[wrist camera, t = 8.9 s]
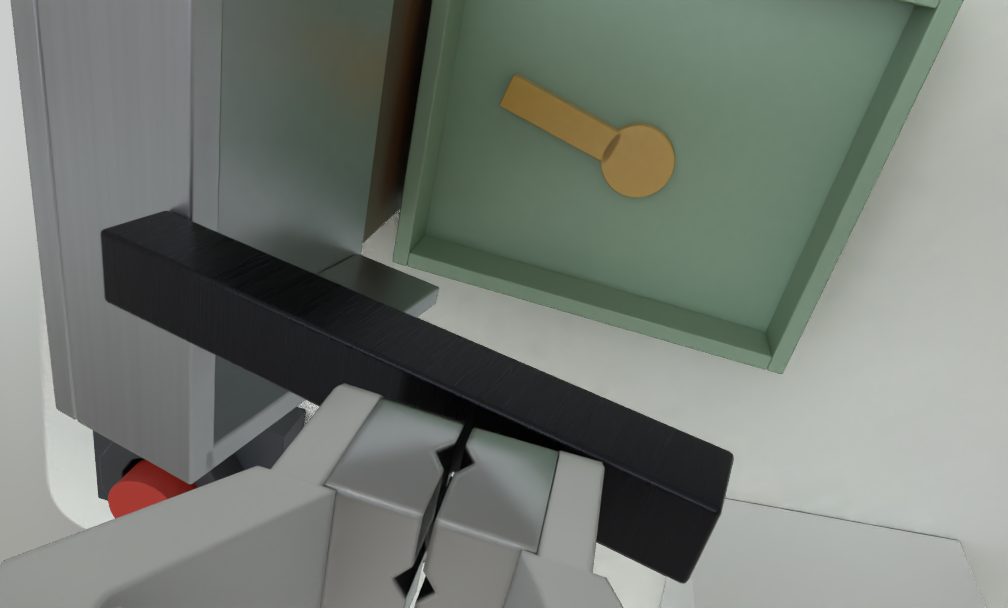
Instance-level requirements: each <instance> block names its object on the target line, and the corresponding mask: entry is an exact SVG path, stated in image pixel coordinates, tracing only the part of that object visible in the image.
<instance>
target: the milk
mask: <svg viewBox="0 0 1008 608" xmlns="http://www.w3.org/2000/svg"><path fill="white" fill-rule="evenodd" d="M660 608H987V607H986V604H985V602H984V599H983V597H982V595H981V592H980V590H979V588H978V585H977V583H976V580H975V578H974V576H973V573H972V571H971V568H970V566H969V564H968V561H967V559H966V557H965V554H964V552H963V549H962V547H961V545H960V542H959V541H956V540H951V539H945V538H940V537H934V536H929V535H923V534H917V533H912V532H906V531H901V530H895V529H890V528H884V527H879V526H873V525H868V524H862V523H857V522H851V521H846V520H840V519H835V518H829V517H824V516H818V515H812V514H807V513H801V512H796V511H790V510H785V509H779V508H774V507H768V506H763V505H757V504H752V503H746V502H741V501H735V500H730V499H725V500H724V504H723V509H722V513H721V515H720V518H719V520H718V522H717V524H716V526H715V528H714V530H713V532H712V534H711V536H710V538H709V540H708V542H707V544H706V546H705V548H704V550H703V552H702V554H701V556H700V558H699V560H698V562H697V564H696V566H695V568H694V570H693V572H692V574H691V577H690V579H689V580H688V581H687V582H686V583H685V584H682V583H679V582H677V581H675V580H673V579H671V578H669V577H667V578H666V583H665V587H664V592H663V596H662V600H661V605H660Z"/></svg>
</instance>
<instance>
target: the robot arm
mask: <svg viewBox="0 0 1008 608" xmlns="http://www.w3.org/2000/svg"><path fill="white" fill-rule="evenodd" d="M465 430H466V423H465V422H462V421H459V420H456V419H453V418H450V417H447V416H444V415H441V414H438V413H435V412H432V411H429V410H426V409H423V408H420V407H417V406H414V405H411V404H408V403H405V402H402V401H399V400H396V399H393V398H390V397H387V396H385V397H383V396H382V395H380V394H377V393H373V392H370V391H367V390H364V389H361V388H358V387H355V386H351V385H348V384H345V383H344V384H342V385H339V386H337V387H336V388H334V389H333V391H332V392H331V393H330V394H329V396H328V397H327V398H326V399H325V401H324V402H323V403H322V405H321V406H320V407H319V408H318V410H317V411H316V412H315V413H314V415H313V416H312V417H311V419H310V420H309V421H308V422H307V424H306V425H305V426H304V427H303V429H302V430H301V431H300V433H299V434H298V435H297V436H296V438H295V439H294V440H293V441H292V443H291V444H290V445H289V447H288V448H287V449H286V450H285V452H284V453H283V454H282V455H281V457H280V458H279V459H278V461H277V462H276V463H275V464H274V466H273V467H272V468H271V469H267V468H264V467H261V466H255V467H252V468H249V469H247V470H244V471H241V472H239V473H236V474H233V475H231V476H228V477H225V478H223V479H220V480H217V481H215V482H212V483H209V484H207V485H204V486H201V487H199V488H196V489H193V490H191V491H188V492H185V493H183V494H180V495H177V496H175V497H172V498H169V499H167V500H164V501H161V502H159V503H156V504H153V505H151V506H148V507H145V508H143V509H140V510H137V511H135V512H132V513H129V514H126V515H124V516H121V517H118V518H116V519H113V520H110V521H108V522H105V523H102V524H100V525H97V526H94V527H92V528H89V529H86V530H84V531H81V532H78V533H76V534H73V535H70V536H68V537H65V538H63V539H60V540H57V541H54V542H52V543H49V544H46V545H44V546H41V547H38V548H36V549H33V550H31V551H28V552H25V553H22V554H20V555H17V556H14V557H12V558H9V559H6V560H4V561H3V562H2V563H1V564H0V608H410V605H411V603H412V601H413V598H414V596H415V593H416V590H417V586H418V582H419V578H420V573H421V569H422V565H423V563H424V562H425V565H424V569H423V571H424V573H425V575H426V577H425V580H424V582H423V585H422V588H421V590H420V593H419V595H418V598H417V601H416V604H415V608H623V606H622V604H621V603H620V601H619V599H618V597H617V596H616V594H615V592H614V590H613V588H612V587H611V585H610V583H609V581H608V580H607V578H605V577H602V576H599V575H596V574H593V565H594V556H595V548H596V539H597V530H598V521H599V513H600V504H601V495H602V487H603V478H604V469H605V468H604V466H603V463H602V462H600V461H596V460H593V459H589V458H585V457H582V456H578V455H575V454H571V453H567V452H564V451H559V452H558V451H555V450H552V449H549V448H545V447H542V446H539V445H535V444H532V443H529V442H526V441H522V440H519V439H516V438H512V437H509V436H506V435H502V434H499V433H496V432H493V431H489V430H486V429H483V428H479V427H476V426H475V427H474V428H473V430H472V432H471V434H470V436H469V439H468V441H467V443H466V446H465V450H464V454H463V458H462V462H461V466H460V470H459V471H458V472H456V473H454V475H453V477H452V476H451V474H452V472H453V469H454V467H455V465H456V462H457V460H458V457H459V455H460V452H461V448H462V444H463V439H464V434H465Z"/></svg>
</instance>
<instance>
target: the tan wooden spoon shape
mask: <svg viewBox="0 0 1008 608" xmlns="http://www.w3.org/2000/svg"><path fill="white" fill-rule="evenodd" d="M500 106H501V107H503V108H504V109H506V110H508V111H510V112H512V113H514V114H515V115H517V116H519V117H521V118H523V119H525V120H526V121H528V122H530V123H532V124H534V125H535V126H537V127H539V128H541V129H543V130H545V131H546V132H548V133H550V134H552V135H554V136H555V137H557V138H559V139H561V140H563V141H565V142H566V143H568V144H570V145H572V146H574V147H576V148H577V149H579V150H581V151H583V152H585V153H586V154H588V155H590V156H592V157H594V158H596V159H597V160H599V161H601V170H602V174H603V176H604V178H605V180H606V182H607V183H608V185H609V186H610V187H611V188H612V189H614V190H615V191H616V192H618V193H620V194H622V195H624V196H627V197H634V198H639V197H646V196H649V195H652V194H654V193H656V192H658V191H659V190H660V189H662V188H663V187H664V186H665V185H666V184H667V182H668V181H669V179H670V178H671V176H672V173H673V171H674V167H675V153H674V148H673V145H672V142H671V140H670V139H669V137H668V136H667V135H666V134H665V132H663V131H662V130H661V129H659V128H658V127H656V126H654V125H651V124H648V123H639V122H638V123H631V124H627V125H625V126H623V127H621V128H619V129H618V128H616V127H614V126H612V125H611V124H609V123H607V122H605V121H603V120H601V119H600V118H598V117H596V116H594V115H592V114H591V113H589V112H587V111H585V110H583V109H582V108H580V107H578V106H576V105H574V104H572V103H571V102H569V101H567V100H565V99H563V98H562V97H560V96H558V95H556V94H554V93H552V92H551V91H549V90H547V89H545V88H543V87H542V86H540V85H538V84H536V83H534V82H533V81H531V80H529V79H527V78H525V77H523V76H522V75H520V74H518V73H516V74H515V75H514V76H513V77H512V79H511V81H510V83H509V86H508V88H507V90H506V92H505V94H504V96H503V98H502V100H501V102H500Z"/></svg>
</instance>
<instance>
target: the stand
mask: <svg viewBox="0 0 1008 608" xmlns="http://www.w3.org/2000/svg"><path fill="white" fill-rule="evenodd" d="M431 6H432V0H394V3H393V10H392V18H391V26H390V34H389V42H388V49H387V57H386V65H385V73H384V81H383V88H382V96H381V104H380V112H379V119H378V127H377V135H376V143H375V151H374V158H373V166H372V174H371V182H370V190H369V197H368V205H367V213H366V221H365V228H364V236H363V242H365V241H366V240H367V239H368V238H369V237H370V236H371V235H372V234H373V233H374V232H375V231H376V230H377V229H379V228H380V227H381V226H382V225H383V224H384V223H385V222H386V221H387V220H388V219H389V218H390V217H391V216H392V215H394V214H395V213H396V212H397V211H398V210H399V209H400V208H401V202H402V196H403V189H404V183H405V176H406V170H407V163H408V156H409V150H410V143H411V137H412V130H413V124H414V117H415V111H416V104H417V97H418V91H419V84H420V78H421V71H422V65H423V58H424V52H425V45H426V38H427V32H428V25H429V19H430V12H431Z"/></svg>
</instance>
